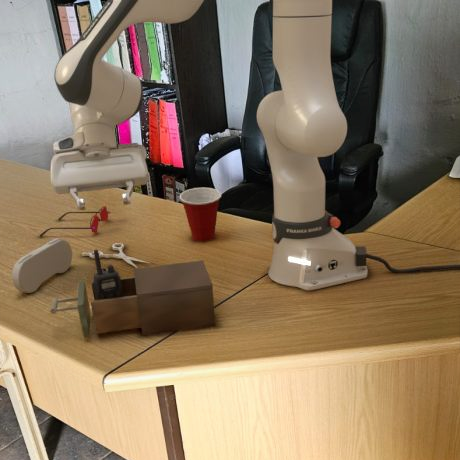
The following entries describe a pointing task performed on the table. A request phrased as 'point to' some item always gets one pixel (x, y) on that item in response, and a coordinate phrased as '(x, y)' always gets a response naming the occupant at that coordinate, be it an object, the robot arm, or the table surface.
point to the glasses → (94, 223)
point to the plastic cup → (201, 211)
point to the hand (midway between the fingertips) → (104, 206)
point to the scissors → (120, 255)
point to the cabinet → (174, 297)
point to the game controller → (41, 265)
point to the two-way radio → (106, 281)
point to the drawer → (105, 309)
